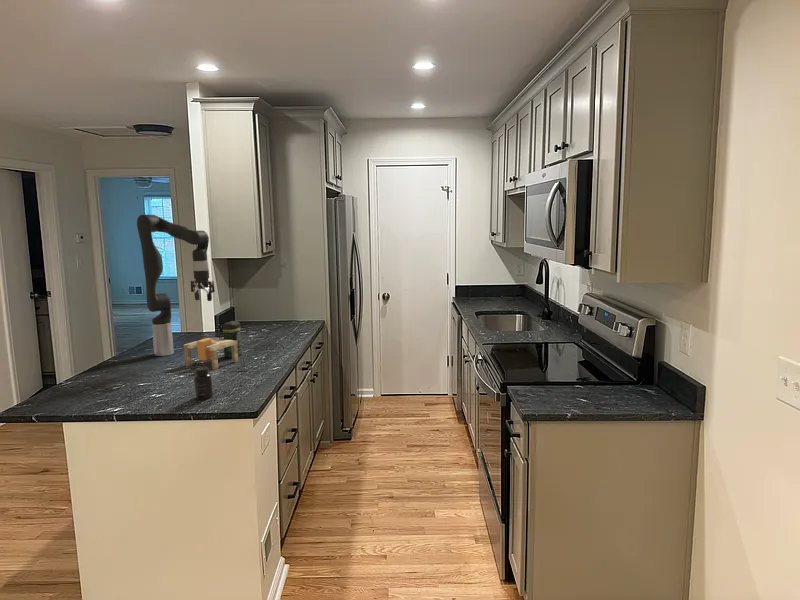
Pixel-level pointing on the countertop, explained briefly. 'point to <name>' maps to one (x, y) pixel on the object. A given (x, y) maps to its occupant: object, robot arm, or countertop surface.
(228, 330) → the coffee jar
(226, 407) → the countertop surface
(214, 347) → the cream u-shaped stand
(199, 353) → the tan wooden post
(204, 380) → the supplement bottle
